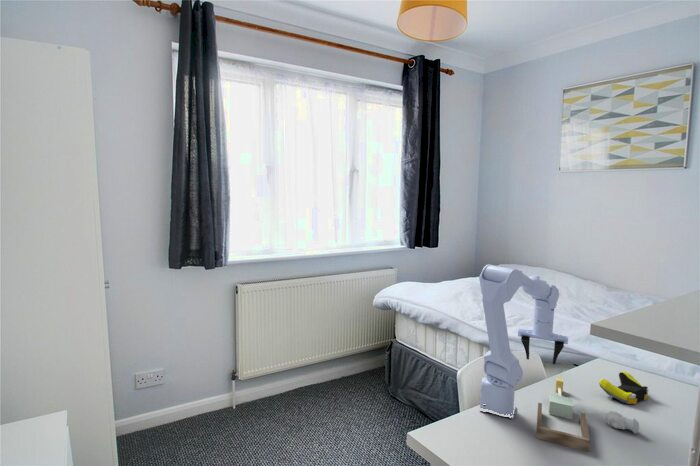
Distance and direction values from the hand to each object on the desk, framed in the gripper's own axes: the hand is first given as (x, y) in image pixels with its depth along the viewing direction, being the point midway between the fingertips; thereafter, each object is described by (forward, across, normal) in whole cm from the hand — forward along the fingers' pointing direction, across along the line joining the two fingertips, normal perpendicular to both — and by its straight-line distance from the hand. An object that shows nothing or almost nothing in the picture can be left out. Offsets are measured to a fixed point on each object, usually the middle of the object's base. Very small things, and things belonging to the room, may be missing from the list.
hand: (540, 360), depth 129 cm
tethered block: (+10, -6, +5) cm, 13 cm away
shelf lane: (+10, -6, +21) cm, 24 cm away
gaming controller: (+11, -25, -10) cm, 29 cm away
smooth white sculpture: (+11, -21, +12) cm, 26 cm away
